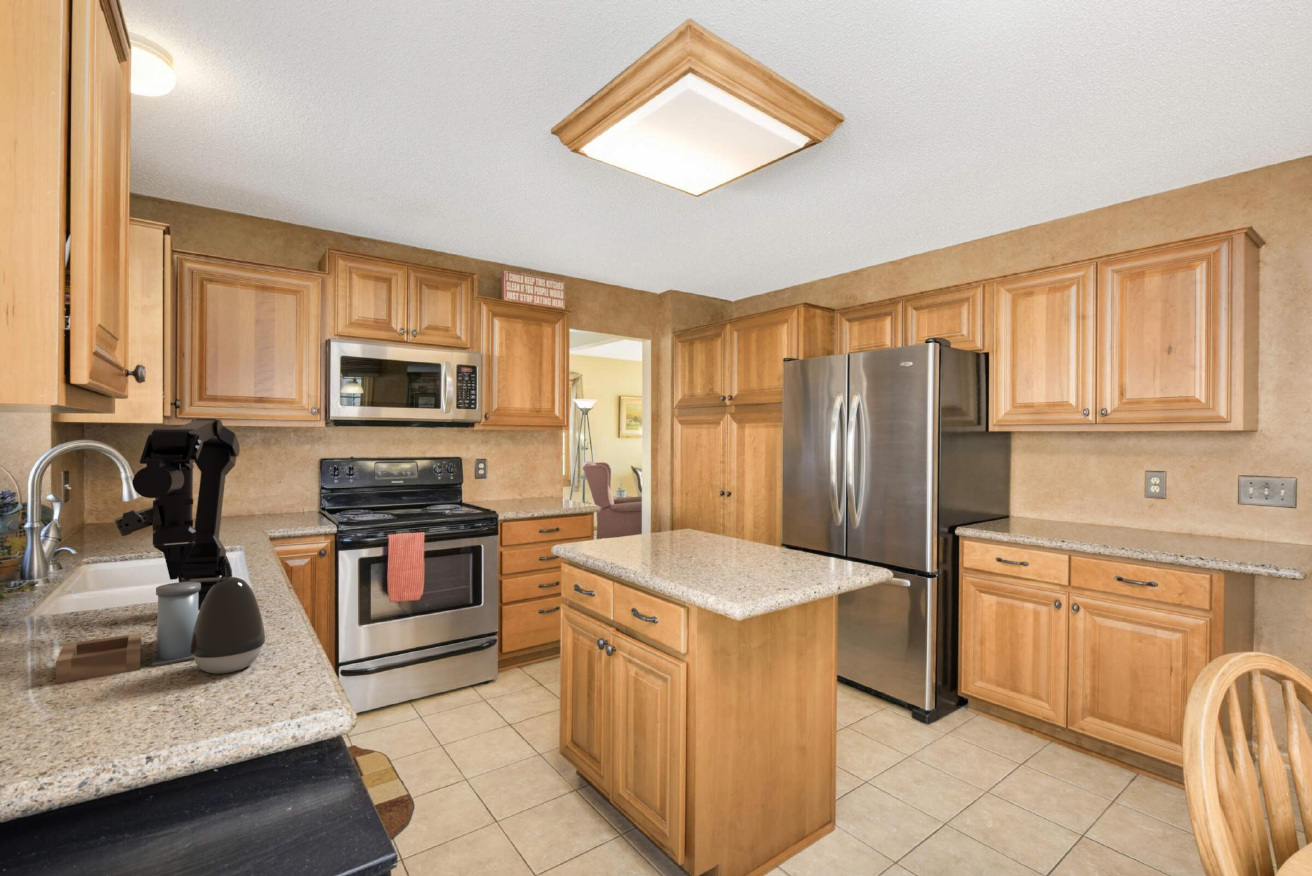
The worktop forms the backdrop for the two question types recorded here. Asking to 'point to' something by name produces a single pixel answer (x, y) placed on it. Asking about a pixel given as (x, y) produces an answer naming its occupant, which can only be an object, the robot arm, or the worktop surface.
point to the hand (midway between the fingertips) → (173, 575)
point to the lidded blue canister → (176, 619)
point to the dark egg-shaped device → (228, 628)
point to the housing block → (98, 658)
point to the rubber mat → (163, 662)
